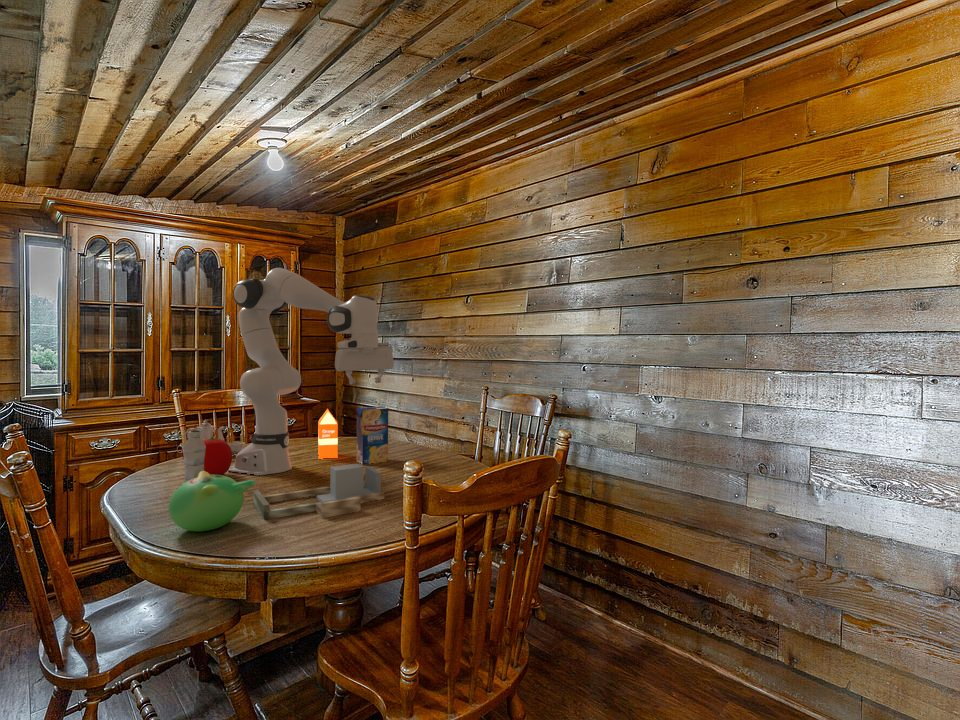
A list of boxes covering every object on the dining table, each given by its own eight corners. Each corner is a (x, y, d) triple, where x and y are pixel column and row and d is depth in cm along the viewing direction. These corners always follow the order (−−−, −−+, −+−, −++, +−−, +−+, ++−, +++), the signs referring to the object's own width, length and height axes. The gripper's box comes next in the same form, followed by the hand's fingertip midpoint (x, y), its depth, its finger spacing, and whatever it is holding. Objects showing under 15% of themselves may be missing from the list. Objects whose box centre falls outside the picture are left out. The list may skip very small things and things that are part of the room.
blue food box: (388, 461, 214) (388, 408, 213) (362, 465, 208) (362, 409, 207) (381, 458, 220) (381, 406, 219) (356, 461, 214) (356, 407, 213)
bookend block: (369, 489, 175) (369, 460, 175) (380, 497, 167) (381, 466, 167) (315, 498, 165) (315, 466, 165) (324, 506, 157) (324, 473, 157)
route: (365, 486, 178) (365, 475, 178) (393, 505, 159) (393, 492, 159) (252, 503, 158) (252, 490, 158) (269, 527, 139) (269, 512, 139)
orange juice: (336, 453, 227) (336, 408, 226) (337, 458, 218) (338, 410, 217) (317, 454, 224) (317, 408, 223) (318, 459, 216) (318, 411, 215)
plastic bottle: (211, 491, 170) (210, 430, 169) (191, 497, 163) (191, 433, 163) (197, 489, 172) (197, 428, 171) (178, 494, 166) (177, 432, 165)
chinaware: (250, 456, 226) (251, 418, 227) (238, 461, 210) (239, 420, 211) (180, 457, 222) (182, 418, 223) (163, 462, 206) (164, 420, 207)
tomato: (188, 480, 182) (187, 440, 181) (200, 472, 193) (199, 434, 193) (226, 479, 184) (226, 439, 183) (236, 471, 195) (236, 433, 195)
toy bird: (214, 513, 149) (214, 462, 149) (259, 522, 143) (259, 469, 142) (154, 535, 133) (153, 477, 132) (202, 546, 126) (201, 486, 126)
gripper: (388, 342, 186) (388, 381, 187) (332, 343, 174) (333, 384, 175) (396, 342, 181) (397, 382, 182) (340, 343, 169) (340, 385, 170)
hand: (365, 383), depth 178 cm, fingers open, 8 cm apart
